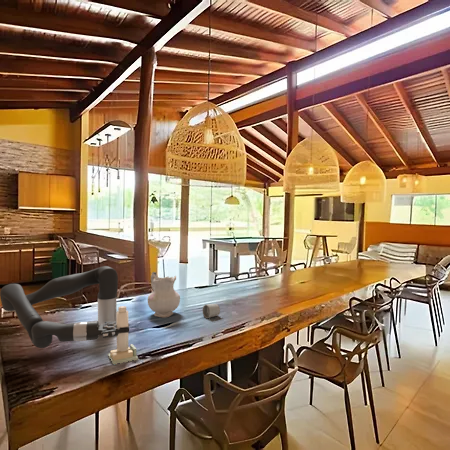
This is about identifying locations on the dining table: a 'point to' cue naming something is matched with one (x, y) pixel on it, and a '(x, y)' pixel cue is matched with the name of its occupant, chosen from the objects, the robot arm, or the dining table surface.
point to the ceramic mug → (211, 310)
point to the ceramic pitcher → (163, 296)
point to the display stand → (123, 355)
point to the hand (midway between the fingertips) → (128, 327)
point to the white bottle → (122, 322)
